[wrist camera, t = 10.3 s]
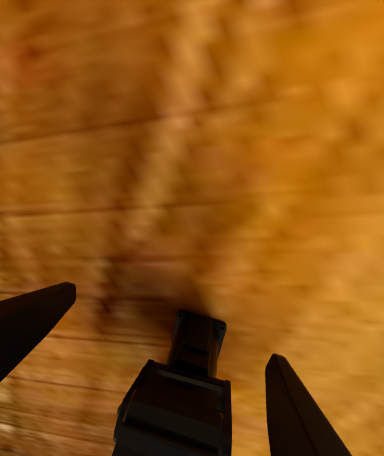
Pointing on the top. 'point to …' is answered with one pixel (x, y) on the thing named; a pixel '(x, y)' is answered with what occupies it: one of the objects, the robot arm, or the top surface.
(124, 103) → the top surface
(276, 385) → the robot arm
